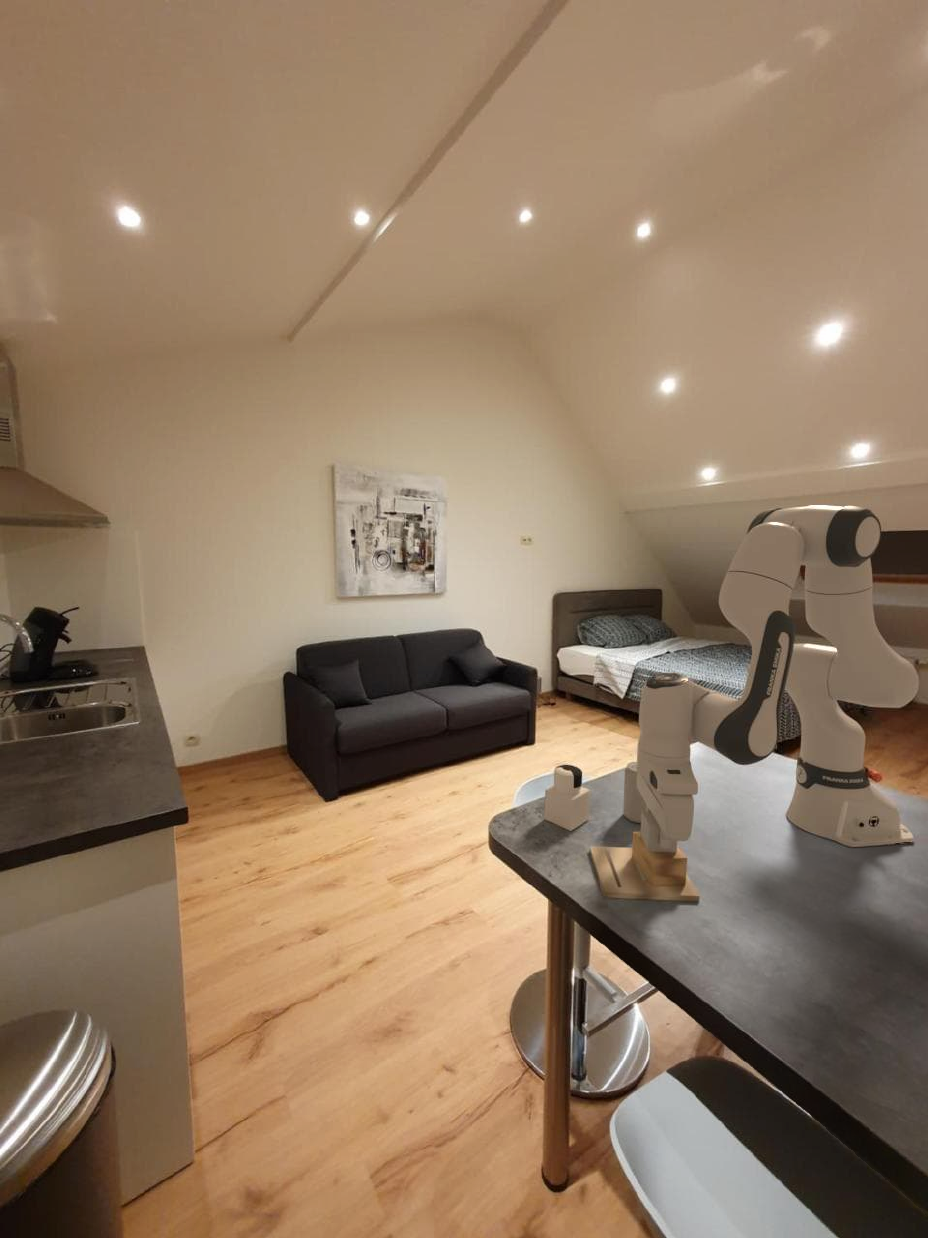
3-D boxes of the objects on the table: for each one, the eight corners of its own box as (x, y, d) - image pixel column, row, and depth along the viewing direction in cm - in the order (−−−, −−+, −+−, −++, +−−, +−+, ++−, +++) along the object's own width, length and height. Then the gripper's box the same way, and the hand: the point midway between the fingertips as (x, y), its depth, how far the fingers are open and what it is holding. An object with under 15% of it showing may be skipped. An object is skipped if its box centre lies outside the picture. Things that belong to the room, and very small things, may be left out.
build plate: (672, 854, 103) (672, 849, 103) (699, 901, 89) (699, 895, 89) (589, 851, 104) (589, 846, 104) (603, 897, 90) (604, 891, 90)
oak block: (662, 854, 101) (663, 830, 101) (685, 884, 92) (687, 857, 92) (631, 856, 101) (633, 831, 100) (652, 886, 92) (654, 859, 91)
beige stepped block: (562, 808, 121) (564, 759, 120) (589, 820, 116) (591, 768, 115) (543, 819, 116) (545, 768, 115) (571, 832, 111) (572, 778, 110)
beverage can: (655, 826, 114) (657, 773, 112) (624, 823, 115) (626, 771, 113) (650, 812, 120) (653, 761, 118) (621, 809, 121) (623, 759, 119)
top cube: (667, 837, 98) (669, 812, 97) (676, 852, 93) (678, 826, 93) (640, 836, 98) (641, 811, 98) (648, 851, 94) (649, 825, 93)
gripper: (630, 742, 104) (627, 808, 106) (662, 789, 84) (657, 869, 86) (662, 743, 104) (659, 809, 106) (702, 790, 84) (697, 871, 85)
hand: (658, 836), depth 96 cm, fingers closed on top cube, 5 cm apart
